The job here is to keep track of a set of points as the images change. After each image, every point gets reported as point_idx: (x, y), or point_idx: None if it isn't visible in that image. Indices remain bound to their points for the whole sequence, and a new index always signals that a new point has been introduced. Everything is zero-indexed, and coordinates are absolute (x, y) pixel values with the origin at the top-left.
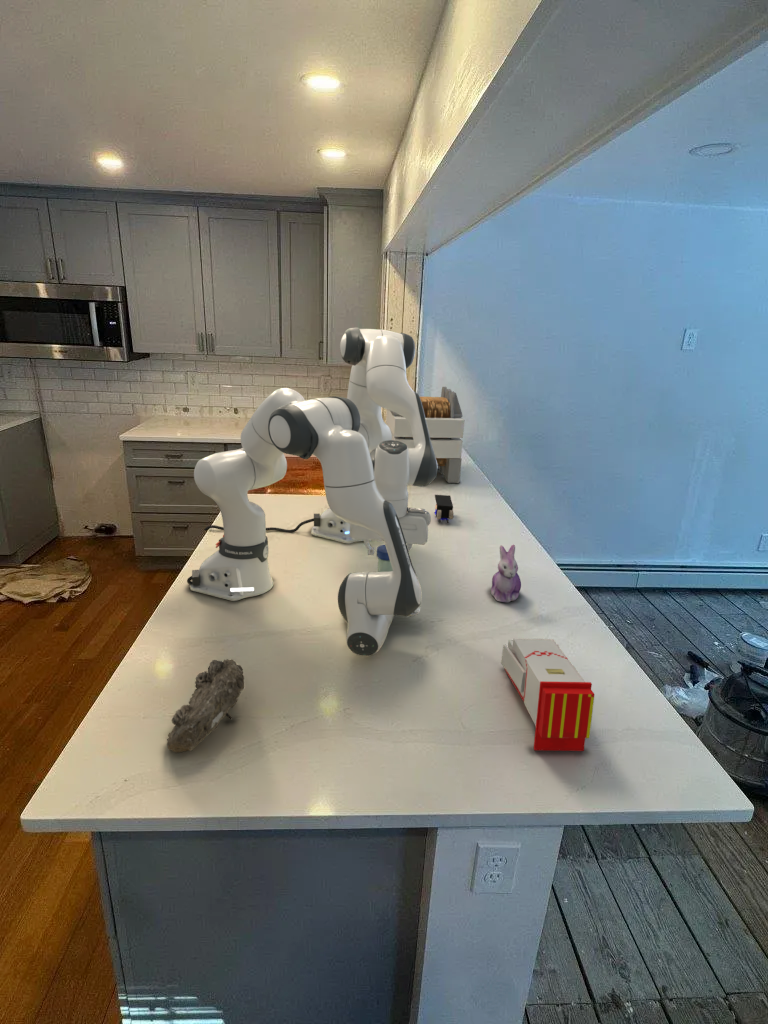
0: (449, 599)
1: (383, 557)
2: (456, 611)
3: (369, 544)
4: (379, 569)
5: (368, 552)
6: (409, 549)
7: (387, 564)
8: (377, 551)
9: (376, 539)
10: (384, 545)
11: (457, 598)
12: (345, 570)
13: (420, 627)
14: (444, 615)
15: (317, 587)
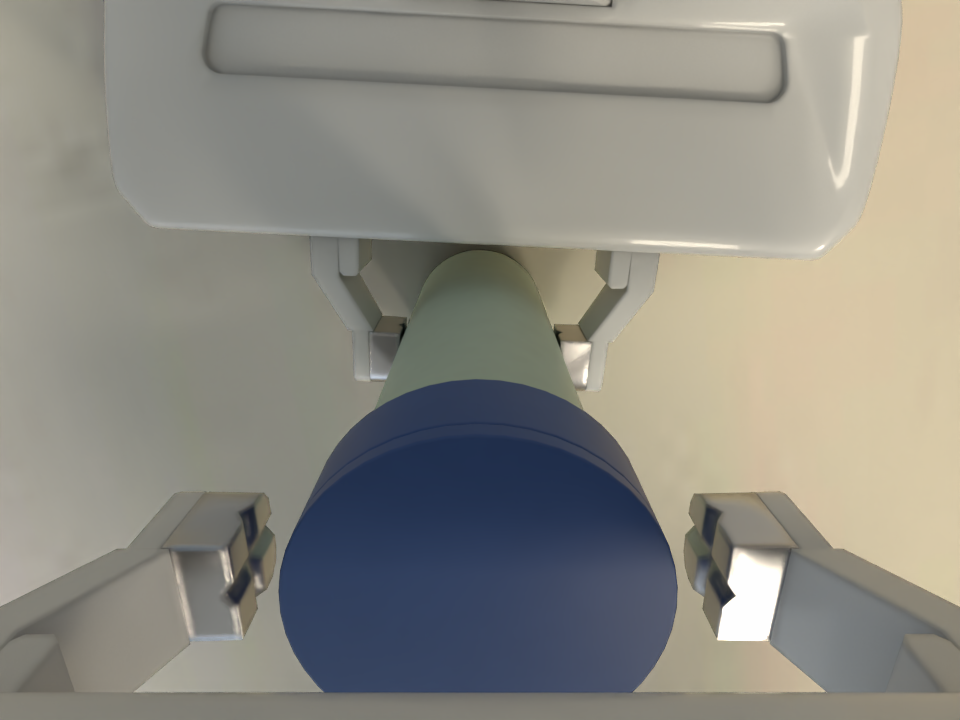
0: (95, 446)
1: (529, 400)
2: (9, 310)
3: (833, 665)
4: (560, 369)
5: (790, 512)
6: (34, 598)
7: (462, 372)
8: (655, 517)
9: (813, 717)
10: None
11: (52, 467)
12: (763, 643)
13: None
14: (68, 241)
15: (938, 425)
